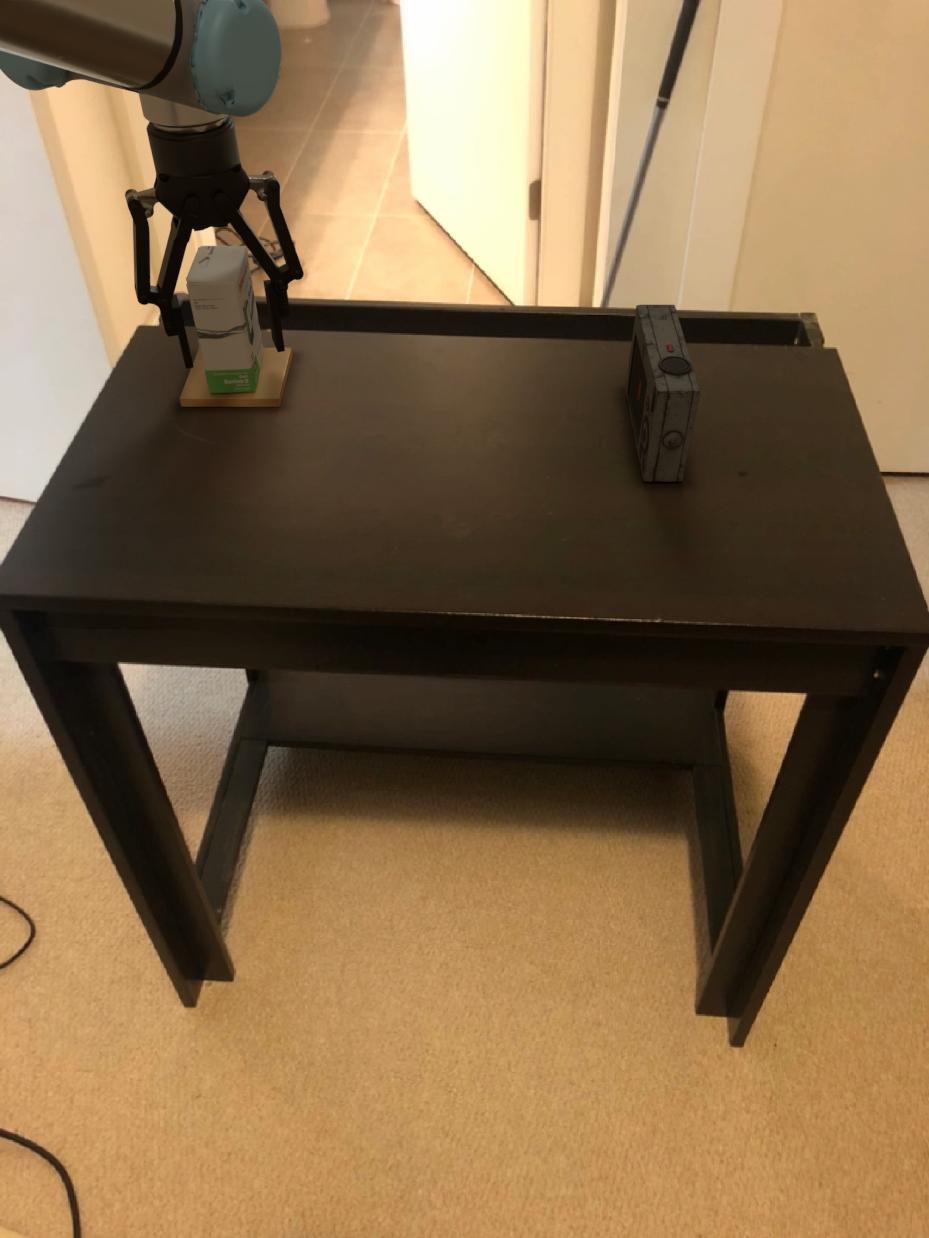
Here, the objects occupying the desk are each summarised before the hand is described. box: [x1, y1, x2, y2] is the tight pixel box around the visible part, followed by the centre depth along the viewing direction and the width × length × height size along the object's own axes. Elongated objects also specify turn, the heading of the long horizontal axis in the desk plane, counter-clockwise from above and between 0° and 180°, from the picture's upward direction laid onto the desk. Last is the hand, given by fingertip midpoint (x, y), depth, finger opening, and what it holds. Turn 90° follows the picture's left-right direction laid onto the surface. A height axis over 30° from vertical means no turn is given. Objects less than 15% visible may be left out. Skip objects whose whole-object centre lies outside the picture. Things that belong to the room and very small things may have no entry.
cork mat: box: [179, 346, 293, 408], centre depth 103 cm, size 10×10×1 cm
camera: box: [624, 304, 701, 483], centre depth 92 cm, size 16×4×10 cm, turn 0°
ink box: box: [185, 245, 264, 393], centre depth 98 cm, size 9×5×12 cm, turn 2°
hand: (233, 353), depth 101 cm, fingers open, 9 cm apart
